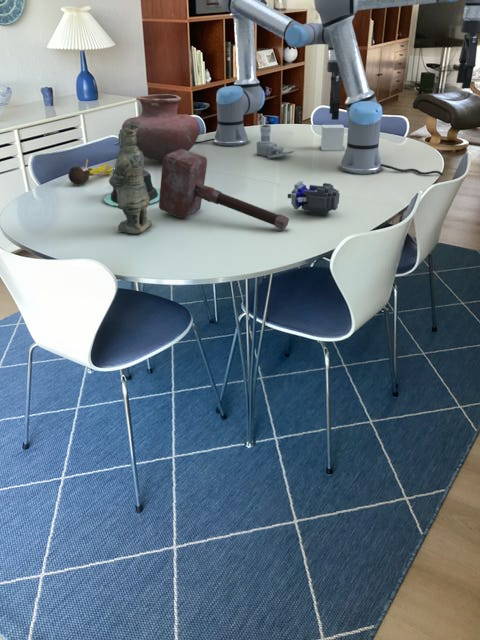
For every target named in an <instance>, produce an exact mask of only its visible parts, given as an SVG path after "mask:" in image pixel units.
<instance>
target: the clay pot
mask: <svg viewBox="0 0 480 640" xmlns="http://www.w3.org/2000/svg"><path fill="white" fill-rule="evenodd" d="M135 100H136V101H139V102H140V105H141V113H140V115H138V116H134V117H129V118H127V119H125V121H123V123H122V125H121V129H123V128H124V127H125V126H126V125H127V124H128V123H131V122H133V121H137V122H138V123H139V127H138V130H137V131H136V138H137V143H136V146H137V147H138V149H139V150H141V151H142V153H143V156H144V159H148V160H151V161H155V162H161V163H163V158H164V156H165V155H167V154H170V153H172V152H174V151H177V150H179V149H184V150H187V151H190V150H192V149H193V147H194V145H196V143H195V142H197V141H198V138H199V136H200V131H201V126H200V123H199V121H198V120H197V119H196V118H195V117H194V116H192V115H190V114H186V113H185V114H182V113H181V114H180V113H178V108H179V103H180V101H182V97H180V96H179V95H177V94H169V93H164V94H163V93H162V94H146V95H139V96H138V95H137V96H136V99H135Z"/></svg>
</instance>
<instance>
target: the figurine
mask: <svg viewBox="0 0 480 640" xmlns="http://www.w3.org/2000/svg"><path fill="white" fill-rule="evenodd" d="M88 163H89V158H86V160H85V166H82V167H81V166H79V165H76V166H72V167H71V168H70V169H69V171H68V175H67V177H68V178H69V181H70V182H71V183H72V184H73V185H76V186H77V185H78V186H79V185H83V184H85V183H87V182H88V181H89V179H90V177H94V176H96V177H97V176H98V177H99V176H104V175H112V172H114V170H115V165H113V163H111V162H109V163H108V164H103V165H100V166H98V167H95V168H88Z"/></svg>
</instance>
